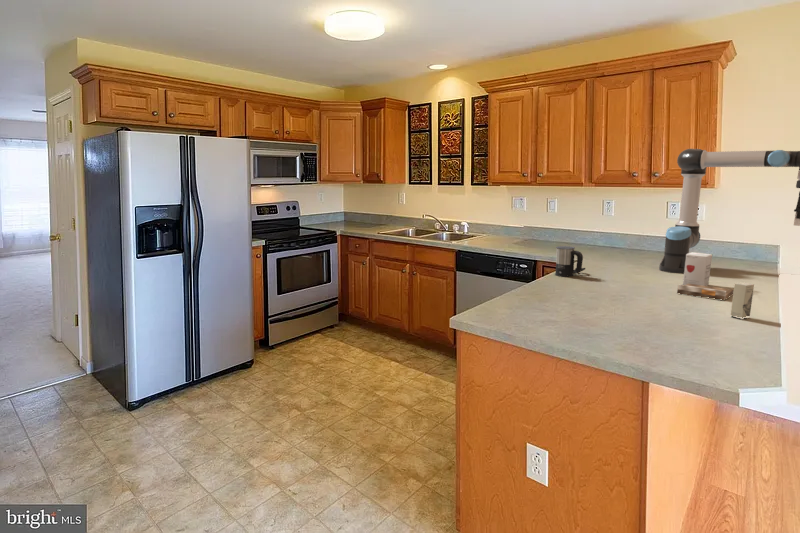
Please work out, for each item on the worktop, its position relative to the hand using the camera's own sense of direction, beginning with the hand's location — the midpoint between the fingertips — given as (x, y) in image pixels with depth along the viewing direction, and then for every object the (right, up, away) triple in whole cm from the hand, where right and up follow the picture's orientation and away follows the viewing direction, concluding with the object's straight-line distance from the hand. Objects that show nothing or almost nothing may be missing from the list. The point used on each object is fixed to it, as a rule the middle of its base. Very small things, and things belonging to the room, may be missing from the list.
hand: (799, 224), depth 242 cm
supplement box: (-53, -29, -4) cm, 60 cm away
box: (-68, -39, -57) cm, 97 cm away
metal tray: (-59, -32, -22) cm, 70 cm away
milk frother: (-104, -25, +21) cm, 109 cm away
